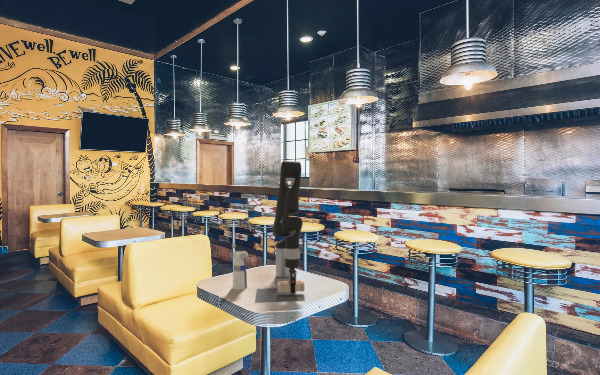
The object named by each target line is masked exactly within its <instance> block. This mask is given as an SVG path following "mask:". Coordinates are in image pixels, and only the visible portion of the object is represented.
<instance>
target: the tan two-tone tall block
mask: <svg viewBox="0 0 600 375" xmlns="http://www.w3.org/2000/svg"><path fill="white" fill-rule="evenodd" d="M292 283H294V281H292ZM277 288H278V292H291V286H290V280H278V281H277ZM305 289H306V288H305V280H302V279H301V280H296V285H295V292H296V293H297V292H305Z"/></svg>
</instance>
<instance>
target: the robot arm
mask: <svg viewBox="0 0 600 375" xmlns="http://www.w3.org/2000/svg"><path fill="white" fill-rule="evenodd" d="M279 172H280V173H279V185H278V186H279V187H278V192H277V197H276V198H277V200H276V209H275V215H274V216H275V217H274V221H273V226H272V233H273V236H274V237H280V238H281V237H283V239H281V240H279V241H278V242H277V241H276V243H275V277H277V278H288V281H290V286H291V293H295V285H296V281H297V273H298V272H297V269H296V268H299V267H300V265H301V254H300V253H301V252H300V236H301V232H302V228H303V219H302V217H300V216H292V215H296V214H298V213H299V211H300V207H299V206H300V203H299V202H300V200H299V199H300V198H299V197H300V190H301V178H302V163H301V162H300V161H295V160H283V161H282V162H281V164H280V171H279ZM286 179H294V182H293V184H292V185H291V187H290V186H289V185H288V182H287V180H286ZM292 232H294V233H293V234H292ZM292 281H294V283H292Z"/></svg>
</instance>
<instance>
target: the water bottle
mask: <svg viewBox="0 0 600 375" xmlns="http://www.w3.org/2000/svg"><path fill="white" fill-rule="evenodd" d="M231 246H232V249H234V250H235V249H236V246H237V245H236V244H235V242H233V243H232V244H231ZM248 256H249V254H248V251H246V250H237V251H233V252H232V260H233V263H232V265H233V271H232V289H233V290H239V291H240V290H245V289H247V288H248V279H247V276H248V275H247V270H246V268H247V267H246V264H247V262H246V258H247V257H248Z"/></svg>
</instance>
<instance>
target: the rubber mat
mask: <svg viewBox="0 0 600 375" xmlns="http://www.w3.org/2000/svg"><path fill="white" fill-rule="evenodd" d="M298 301H299V300H298V296H297V292H295V293H291V292H278V287H274V288H273V287H272V288H271V287H270V288H256V292H255V300H254V303H255V304H256V303H258V304H260V303H283V302H284V303H287V302H298Z"/></svg>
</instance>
